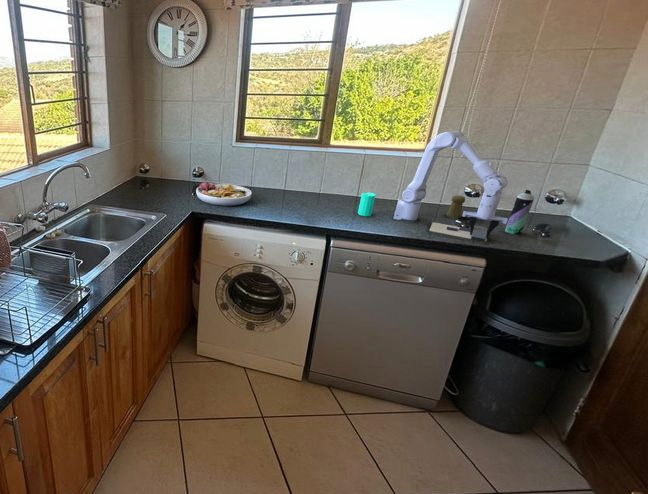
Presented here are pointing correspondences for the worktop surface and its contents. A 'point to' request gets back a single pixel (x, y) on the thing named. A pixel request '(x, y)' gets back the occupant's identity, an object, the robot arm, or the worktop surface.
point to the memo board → (443, 229)
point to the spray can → (520, 212)
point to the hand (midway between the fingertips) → (478, 235)
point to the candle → (366, 204)
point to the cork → (456, 206)
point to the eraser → (479, 233)
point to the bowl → (223, 194)
